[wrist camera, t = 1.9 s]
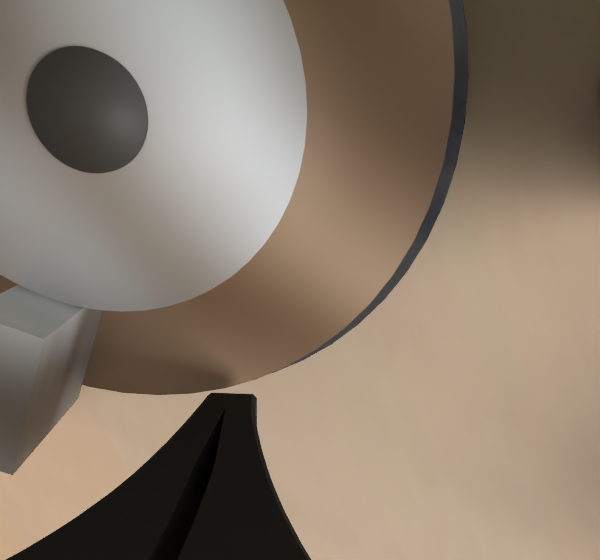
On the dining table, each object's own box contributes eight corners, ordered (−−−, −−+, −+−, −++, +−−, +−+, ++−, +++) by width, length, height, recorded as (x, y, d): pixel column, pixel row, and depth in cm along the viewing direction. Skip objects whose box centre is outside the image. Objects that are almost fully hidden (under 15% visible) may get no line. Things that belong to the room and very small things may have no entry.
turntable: (148, -542, 7) (-63, -1464, 3) (538, 176, 12) (673, 200, 7) (-284, 55, 11) (-667, 3, 6) (141, 442, 15) (78, 564, 11)
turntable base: (172, -555, 8) (155, -645, 7) (558, 179, 13) (578, 182, 12) (-274, 56, 12) (-323, 49, 11) (153, 447, 17) (144, 466, 16)
